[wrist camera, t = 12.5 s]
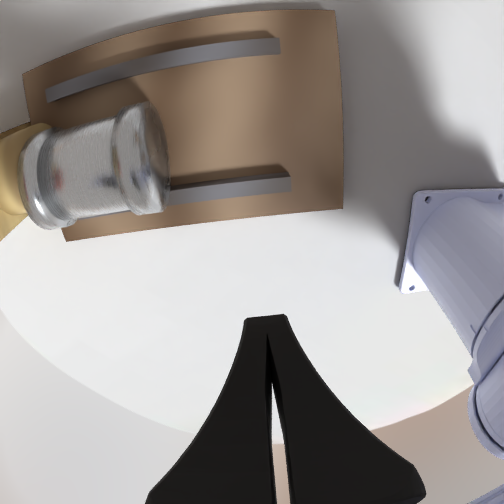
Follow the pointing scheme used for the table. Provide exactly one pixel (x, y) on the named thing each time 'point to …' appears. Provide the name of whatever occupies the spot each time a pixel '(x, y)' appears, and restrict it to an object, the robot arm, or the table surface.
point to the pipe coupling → (96, 168)
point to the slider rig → (205, 115)
